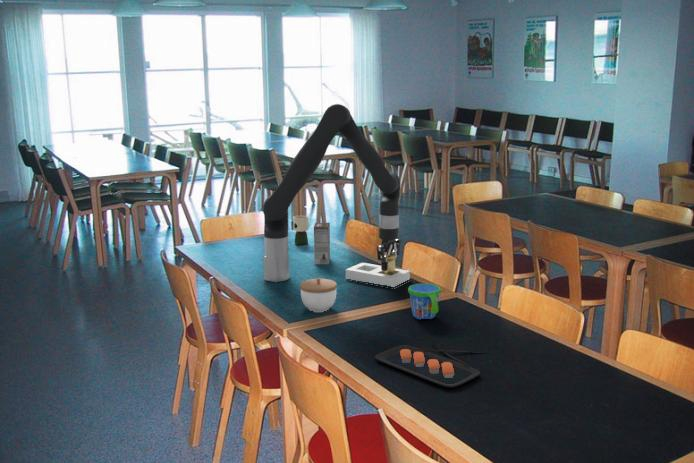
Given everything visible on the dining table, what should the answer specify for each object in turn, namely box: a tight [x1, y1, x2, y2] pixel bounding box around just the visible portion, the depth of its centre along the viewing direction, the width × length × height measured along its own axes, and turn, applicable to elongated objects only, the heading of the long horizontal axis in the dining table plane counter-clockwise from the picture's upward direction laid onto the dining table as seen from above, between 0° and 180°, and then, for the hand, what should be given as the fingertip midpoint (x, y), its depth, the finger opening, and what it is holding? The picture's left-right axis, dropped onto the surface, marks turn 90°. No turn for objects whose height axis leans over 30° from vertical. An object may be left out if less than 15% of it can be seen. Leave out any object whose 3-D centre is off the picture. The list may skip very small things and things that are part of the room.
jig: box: [345, 262, 411, 287], centre depth 283 cm, size 12×22×4 cm, turn 56°
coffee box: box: [313, 222, 331, 265], centre depth 308 cm, size 9×6×16 cm
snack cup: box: [407, 283, 442, 320], centre depth 241 cm, size 16×10×10 cm
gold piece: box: [382, 253, 397, 275], centre depth 279 cm, size 6×6×9 cm
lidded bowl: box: [299, 277, 338, 313], centre depth 249 cm, size 13×13×11 cm
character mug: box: [292, 215, 310, 245], centre depth 338 cm, size 11×7×13 cm, turn 14°
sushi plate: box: [374, 344, 481, 388], centre depth 207 cm, size 29×30×4 cm
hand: (388, 268), depth 279 cm, fingers open, 5 cm apart
